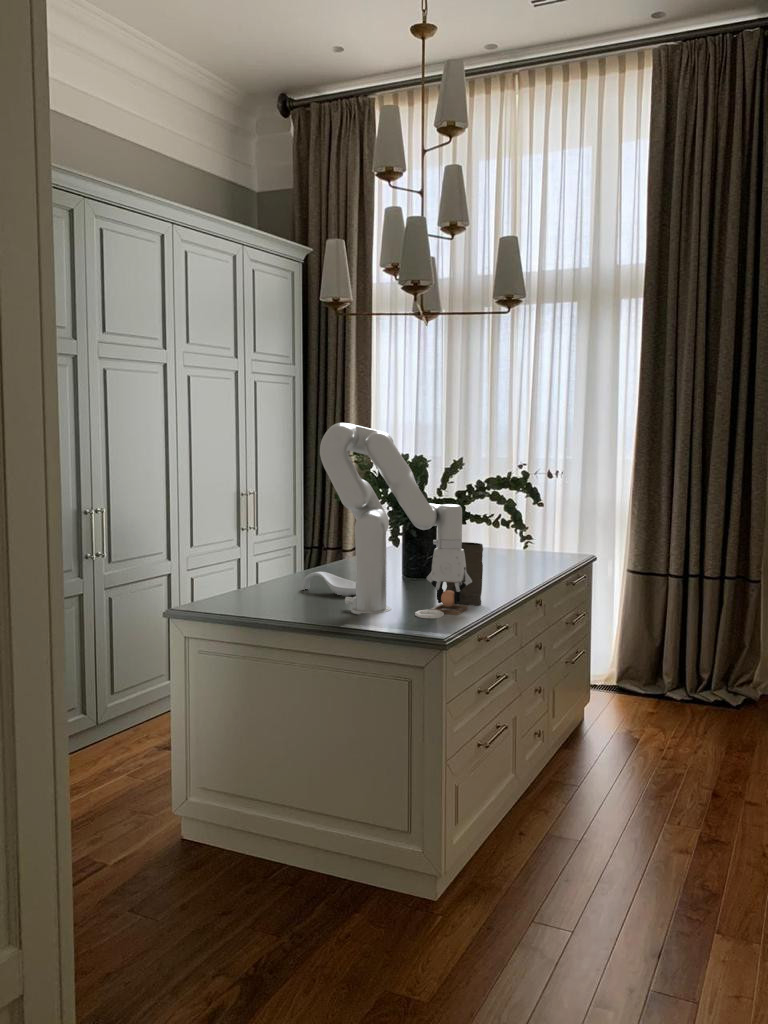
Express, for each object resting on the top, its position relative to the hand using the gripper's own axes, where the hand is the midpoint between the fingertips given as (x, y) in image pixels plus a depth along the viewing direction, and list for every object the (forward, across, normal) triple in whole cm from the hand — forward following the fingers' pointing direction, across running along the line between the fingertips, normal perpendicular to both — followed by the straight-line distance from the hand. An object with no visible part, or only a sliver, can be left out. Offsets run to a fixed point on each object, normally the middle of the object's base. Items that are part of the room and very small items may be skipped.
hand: (448, 602), depth 283 cm
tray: (+4, 0, 0) cm, 4 cm away
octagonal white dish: (+4, -3, -9) cm, 10 cm away
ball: (+1, 0, 0) cm, 1 cm away
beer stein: (+4, -1, +16) cm, 16 cm away
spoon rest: (+4, -49, +17) cm, 52 cm away
